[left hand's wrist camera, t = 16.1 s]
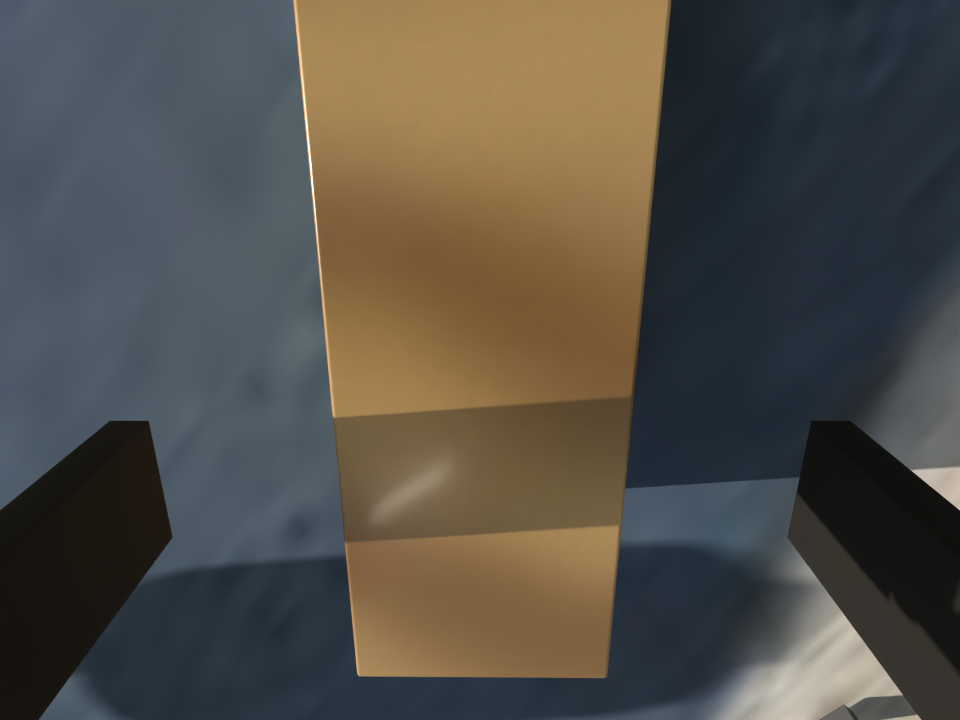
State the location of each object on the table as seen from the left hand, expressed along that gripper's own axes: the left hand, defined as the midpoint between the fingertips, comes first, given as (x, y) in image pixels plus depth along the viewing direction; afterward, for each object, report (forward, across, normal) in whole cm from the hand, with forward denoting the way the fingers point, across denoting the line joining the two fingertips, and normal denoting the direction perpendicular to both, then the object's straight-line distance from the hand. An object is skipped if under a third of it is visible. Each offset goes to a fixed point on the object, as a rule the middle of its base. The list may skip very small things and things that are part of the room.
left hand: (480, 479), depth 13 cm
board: (+6, 0, -25) cm, 26 cm away
